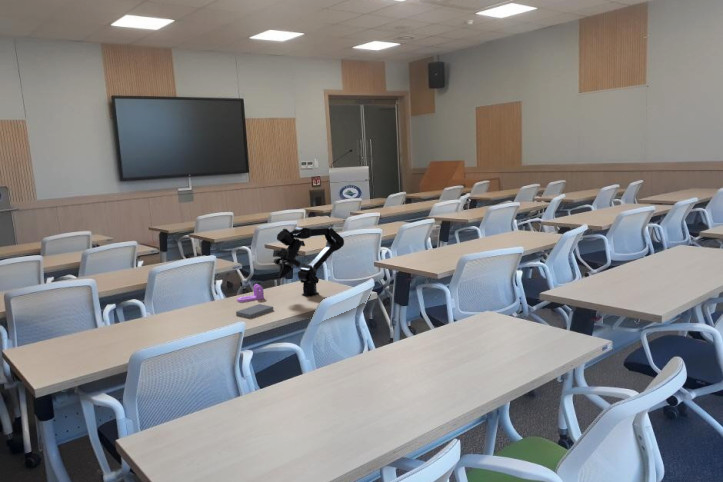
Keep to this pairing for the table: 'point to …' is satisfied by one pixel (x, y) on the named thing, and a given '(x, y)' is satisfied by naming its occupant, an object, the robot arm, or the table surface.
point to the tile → (254, 311)
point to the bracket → (257, 295)
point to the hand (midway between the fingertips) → (279, 278)
